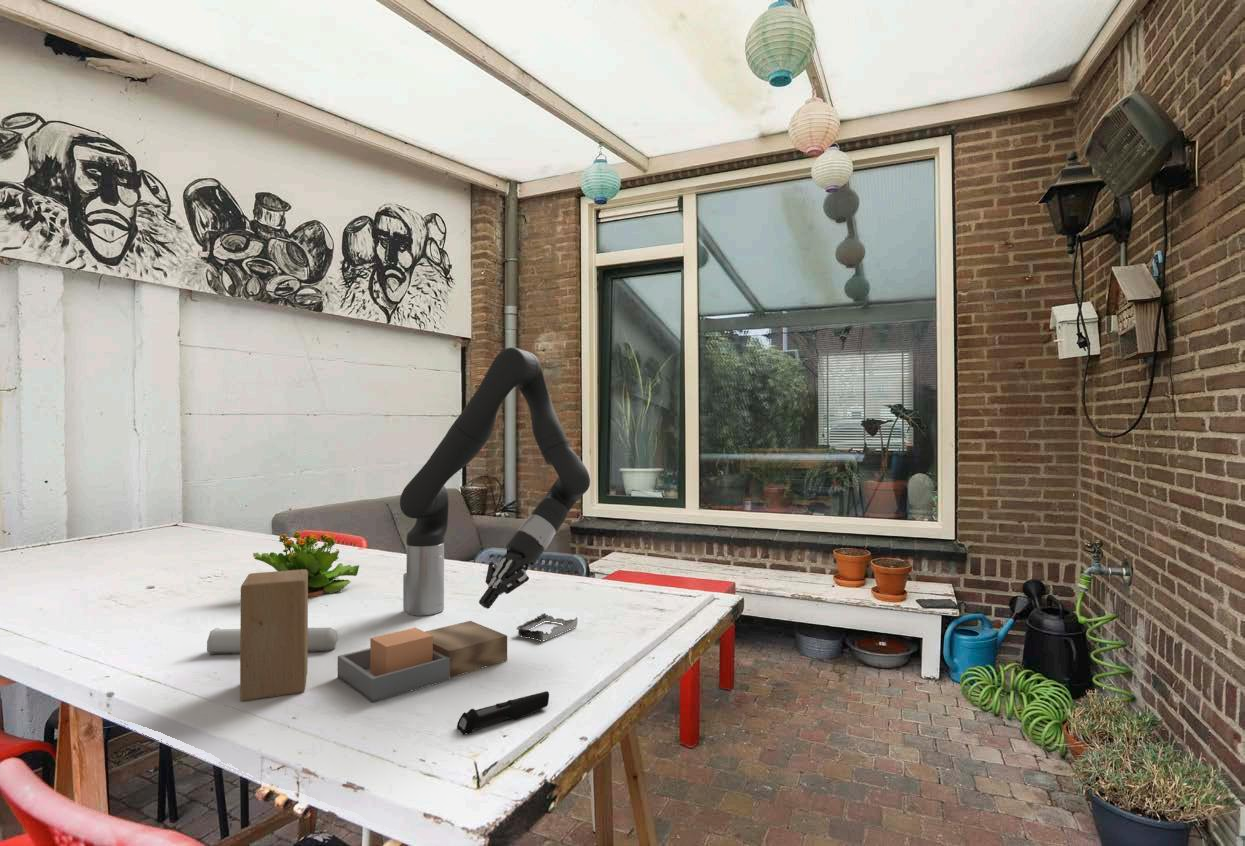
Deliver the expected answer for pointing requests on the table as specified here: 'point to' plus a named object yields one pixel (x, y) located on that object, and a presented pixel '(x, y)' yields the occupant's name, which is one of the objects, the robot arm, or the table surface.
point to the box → (390, 675)
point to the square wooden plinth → (469, 646)
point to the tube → (230, 640)
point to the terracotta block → (400, 651)
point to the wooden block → (273, 634)
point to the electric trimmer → (501, 712)
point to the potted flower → (311, 562)
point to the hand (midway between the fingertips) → (483, 605)
